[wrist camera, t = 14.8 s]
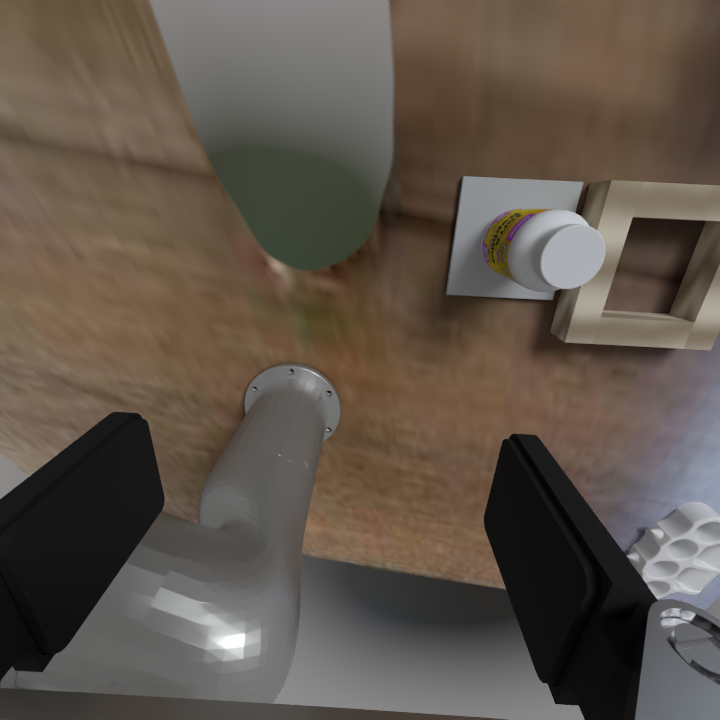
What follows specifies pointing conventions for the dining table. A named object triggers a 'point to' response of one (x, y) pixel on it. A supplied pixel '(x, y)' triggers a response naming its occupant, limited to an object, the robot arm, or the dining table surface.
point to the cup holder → (612, 220)
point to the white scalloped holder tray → (679, 551)
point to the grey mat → (478, 210)
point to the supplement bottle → (543, 248)
